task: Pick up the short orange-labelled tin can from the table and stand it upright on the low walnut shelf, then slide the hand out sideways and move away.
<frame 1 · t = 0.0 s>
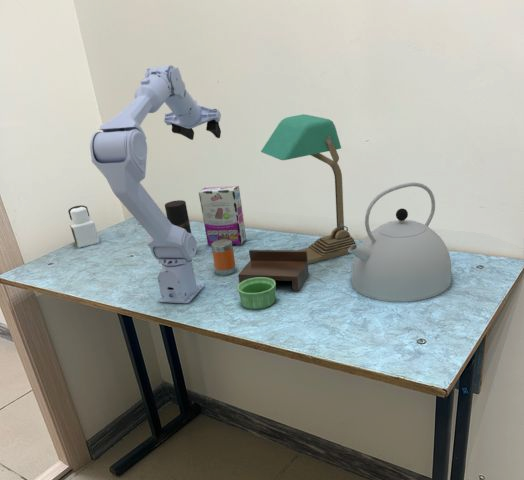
hand: (205, 135, 141), 32 cm above the table, tool tilted 50°, fingers open, 7 cm apart
candy bar box: (227, 243, 165), on the table
kettle: (396, 282, 128), on the table
banker's lamp: (316, 256, 148), on the table
deodorant: (185, 254, 161), on the table
shelf: (274, 281, 136), on the table
ramekin: (258, 302, 127), on the table
white handled box: (87, 243, 180), on the table
tin can: (226, 271, 145), on the table
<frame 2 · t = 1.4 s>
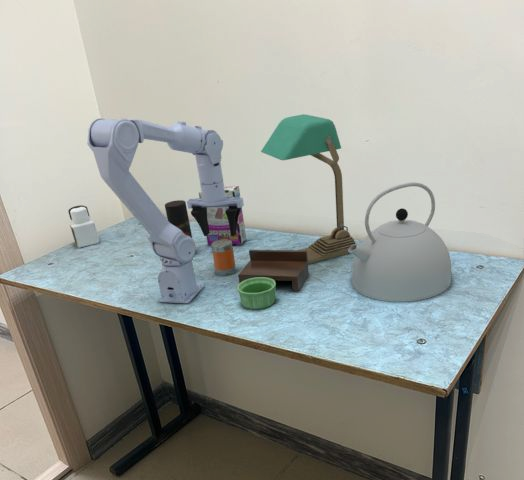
hand: (220, 234, 140), 10 cm above the table, tool pointing down, fingers open, 7 cm apart
nothing on the table moved.
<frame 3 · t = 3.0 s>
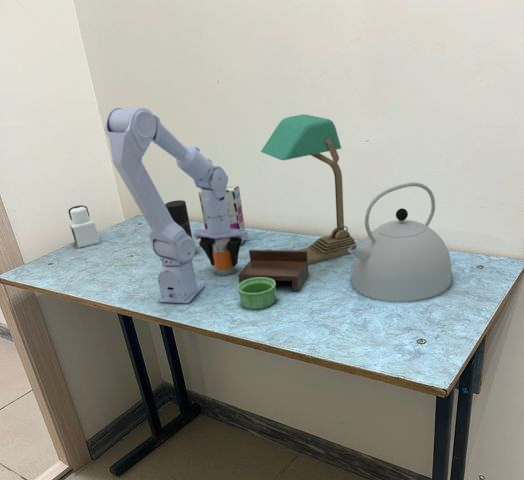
hand: (224, 264, 144), 2 cm above the table, tool pointing down, fingers closed on tin can, 5 cm apart
tin can: (225, 271, 145), on the table, touching gripper
everything else where it was.
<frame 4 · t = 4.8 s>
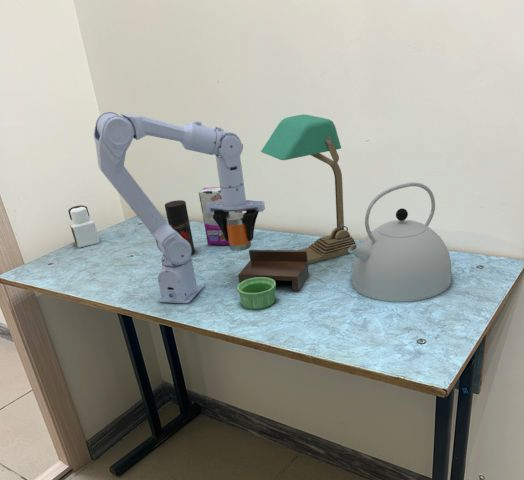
hand: (239, 239, 136), 10 cm above the table, tool pointing down, fingers closed on tin can, 5 cm apart
tin can: (240, 246, 137), point 8 cm above the table, touching gripper
everything else where it was.
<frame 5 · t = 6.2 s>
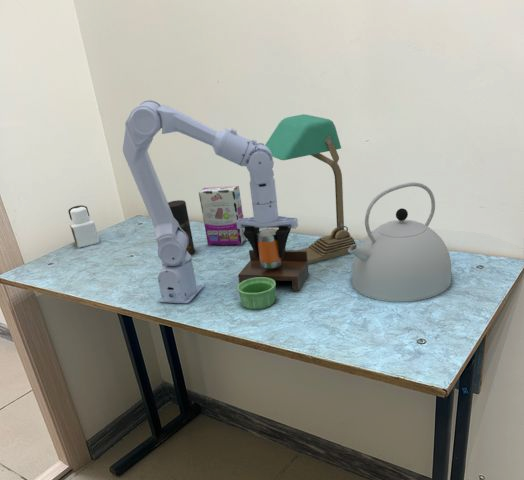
hand: (270, 256, 131), 7 cm above the table, tool pointing down, fingers closed on tin can, 5 cm apart
tin can: (271, 264, 132), point 5 cm above the table, touching gripper
everything else where it was.
when the fingers open (6 cm above the table, at t = 7.1 s): tin can stays where it is, resting on shelf.
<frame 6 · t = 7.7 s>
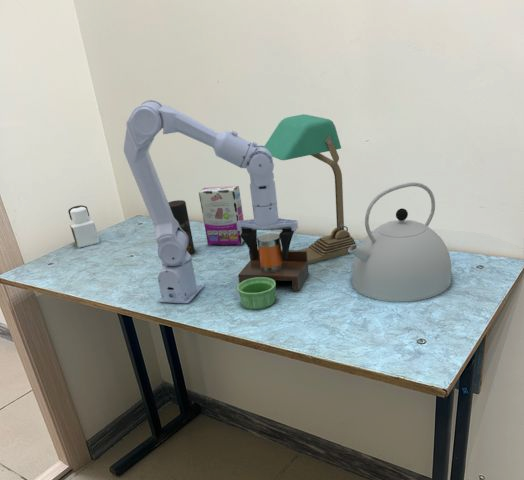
hand: (270, 258, 131), 7 cm above the table, tool pointing down, fingers open, 7 cm apart
tin can: (271, 268, 133), point 4 cm above the table, touching shelf
everything else where it was.
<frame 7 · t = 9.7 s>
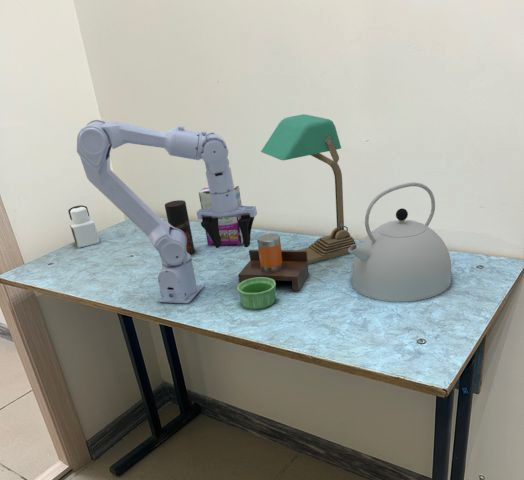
hand: (232, 246, 131), 10 cm above the table, tool pointing down, fingers open, 7 cm apart
nothing on the table moved.
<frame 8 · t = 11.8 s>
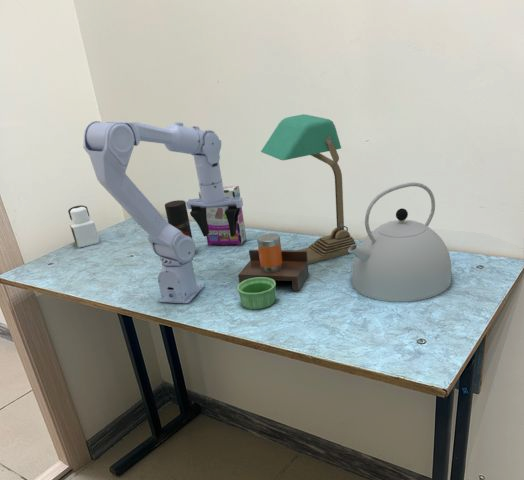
hand: (219, 235, 139), 10 cm above the table, tool pointing down, fingers open, 7 cm apart
nothing on the table moved.
at the end: tin can inside the target area on the shelf (0.4 cm from its centre), point 4.0 cm above the shelf's base; tin can tilted 0°; the gripper is holding nothing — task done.
